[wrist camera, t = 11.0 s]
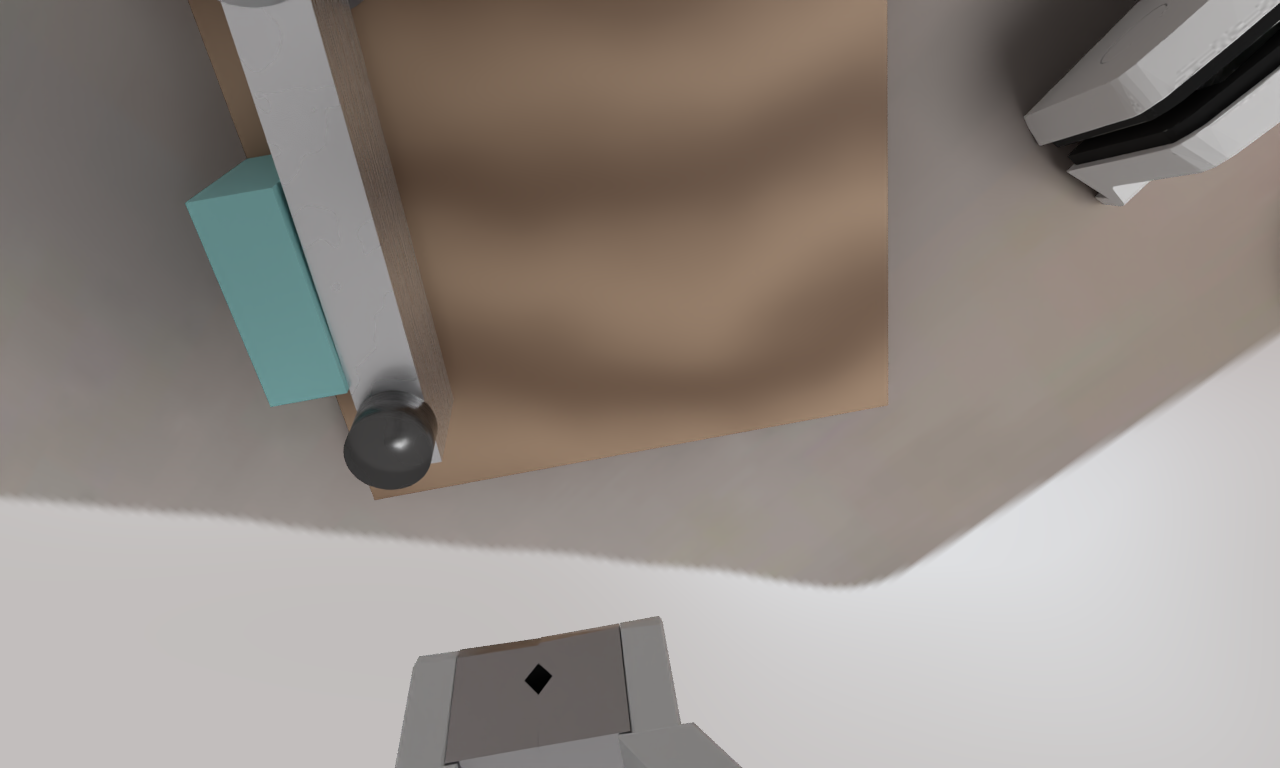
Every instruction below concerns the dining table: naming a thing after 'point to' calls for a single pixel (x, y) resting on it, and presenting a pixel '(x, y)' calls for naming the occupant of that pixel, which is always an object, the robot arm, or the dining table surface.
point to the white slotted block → (1166, 93)
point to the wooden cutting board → (629, 213)
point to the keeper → (268, 282)
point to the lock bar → (349, 228)
